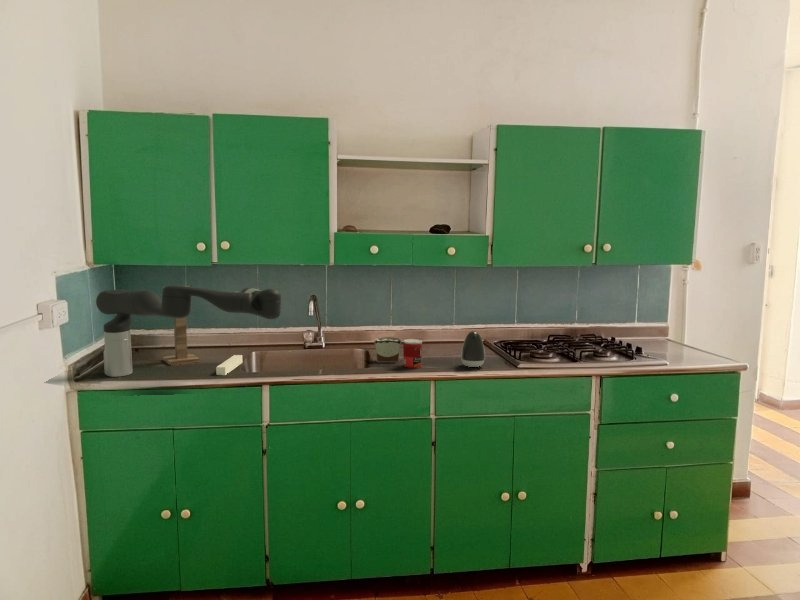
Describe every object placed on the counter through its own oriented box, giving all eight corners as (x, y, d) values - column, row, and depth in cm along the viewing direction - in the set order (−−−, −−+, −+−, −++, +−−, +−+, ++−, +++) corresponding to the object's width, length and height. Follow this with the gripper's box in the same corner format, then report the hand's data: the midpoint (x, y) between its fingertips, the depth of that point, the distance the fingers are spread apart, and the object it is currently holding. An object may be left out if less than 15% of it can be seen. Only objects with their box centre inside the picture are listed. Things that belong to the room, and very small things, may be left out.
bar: (225, 376, 224) (225, 367, 223) (216, 375, 224) (216, 367, 223) (242, 363, 245) (242, 355, 244) (234, 363, 245) (234, 355, 244)
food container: (401, 358, 254) (401, 336, 253) (401, 362, 248) (402, 339, 247) (373, 358, 254) (373, 336, 252) (373, 362, 248) (373, 339, 246)
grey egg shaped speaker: (461, 369, 236) (462, 333, 234) (459, 363, 246) (460, 328, 244) (486, 369, 236) (487, 333, 234) (483, 363, 246) (484, 329, 244)
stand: (199, 362, 244) (197, 287, 240) (170, 365, 237) (167, 289, 233) (191, 356, 254) (189, 285, 250) (163, 360, 247) (160, 286, 243)
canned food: (416, 369, 235) (416, 343, 234) (399, 367, 239) (399, 341, 238) (425, 365, 242) (425, 340, 240) (408, 363, 246) (409, 338, 244)
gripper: (270, 287, 215) (254, 283, 228) (233, 289, 207) (218, 285, 220) (271, 307, 216) (254, 301, 229) (234, 309, 208) (219, 304, 221)
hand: (237, 293), depth 224 cm, fingers open, 8 cm apart
